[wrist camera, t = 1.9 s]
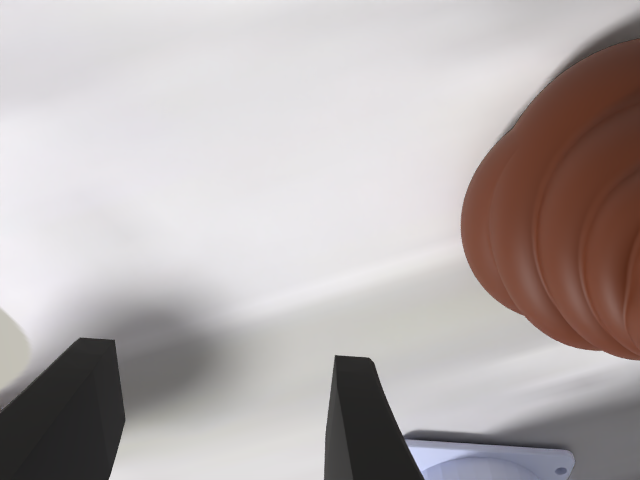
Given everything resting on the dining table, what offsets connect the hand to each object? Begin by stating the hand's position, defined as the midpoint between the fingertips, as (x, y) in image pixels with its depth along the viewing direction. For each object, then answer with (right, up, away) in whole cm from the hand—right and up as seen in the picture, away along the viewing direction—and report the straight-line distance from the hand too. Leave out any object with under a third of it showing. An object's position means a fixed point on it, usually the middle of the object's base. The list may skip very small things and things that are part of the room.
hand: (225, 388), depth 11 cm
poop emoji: (+11, +5, +9) cm, 15 cm away
